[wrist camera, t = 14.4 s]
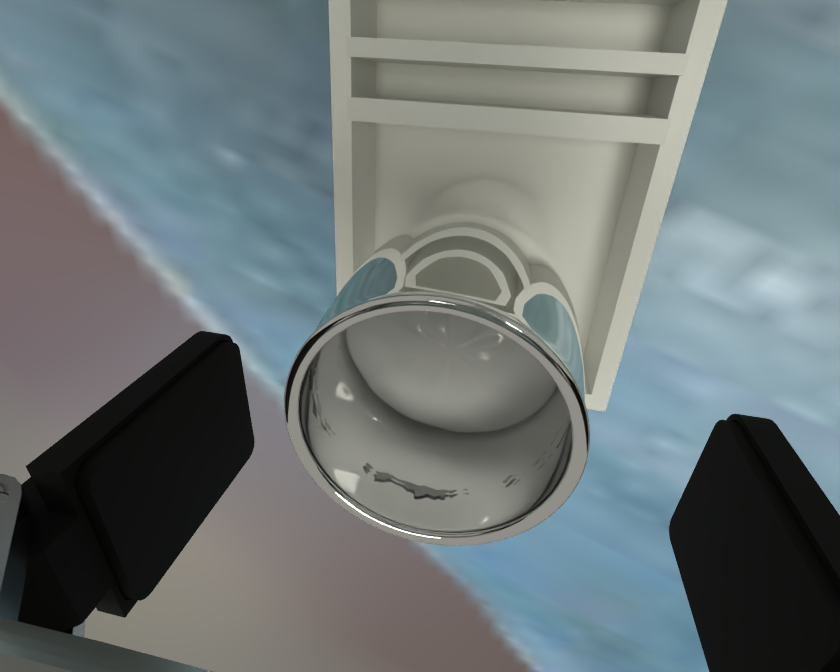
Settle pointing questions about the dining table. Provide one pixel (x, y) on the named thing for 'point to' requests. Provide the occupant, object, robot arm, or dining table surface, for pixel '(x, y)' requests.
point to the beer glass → (447, 377)
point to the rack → (522, 130)
